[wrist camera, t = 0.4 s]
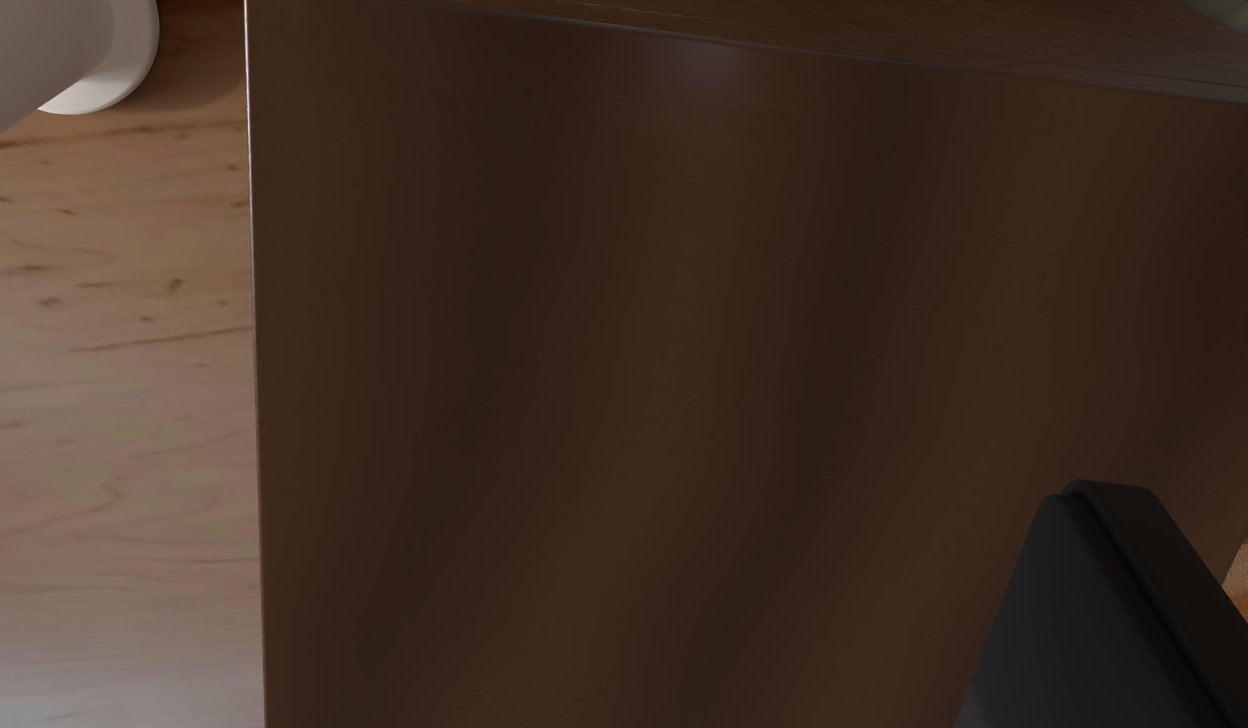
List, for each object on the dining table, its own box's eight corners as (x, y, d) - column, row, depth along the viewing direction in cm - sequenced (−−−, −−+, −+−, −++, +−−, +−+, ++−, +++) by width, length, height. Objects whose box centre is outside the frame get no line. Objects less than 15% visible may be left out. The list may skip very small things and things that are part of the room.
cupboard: (982, -93, 39) (1442, 128, 18) (820, 535, 52) (974, 1108, 30) (445, -167, 38) (240, -22, 16) (413, 497, 50) (273, 1068, 29)
